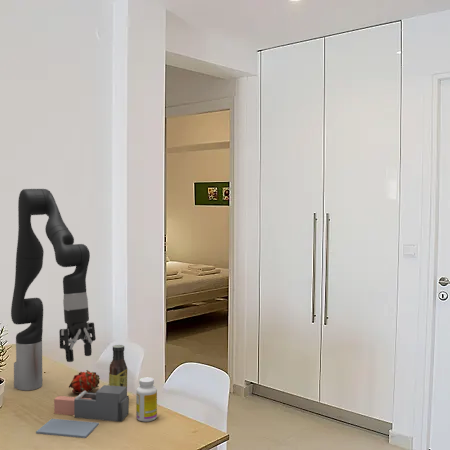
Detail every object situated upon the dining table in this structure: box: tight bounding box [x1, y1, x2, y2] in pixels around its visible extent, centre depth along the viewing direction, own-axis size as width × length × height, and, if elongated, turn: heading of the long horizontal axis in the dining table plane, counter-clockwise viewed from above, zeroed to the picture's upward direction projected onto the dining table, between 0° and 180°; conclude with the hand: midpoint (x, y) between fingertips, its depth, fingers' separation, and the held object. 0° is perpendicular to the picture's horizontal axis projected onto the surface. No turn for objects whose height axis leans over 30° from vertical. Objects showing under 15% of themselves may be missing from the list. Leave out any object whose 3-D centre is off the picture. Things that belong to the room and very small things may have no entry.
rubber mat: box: [35, 418, 100, 439], centre depth 176 cm, size 16×10×1 cm, turn 80°
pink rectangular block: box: [53, 395, 91, 416], centre depth 188 cm, size 12×3×5 cm, turn 80°
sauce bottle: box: [108, 344, 128, 388], centre depth 198 cm, size 7×6×20 cm
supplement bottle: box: [135, 376, 158, 423], centre depth 185 cm, size 7×7×13 cm
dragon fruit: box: [68, 369, 101, 394], centre depth 207 cm, size 8×8×12 cm
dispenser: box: [73, 384, 130, 423], centre depth 186 cm, size 16×7×9 cm, turn 80°
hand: (79, 358), depth 180 cm, fingers open, 8 cm apart
